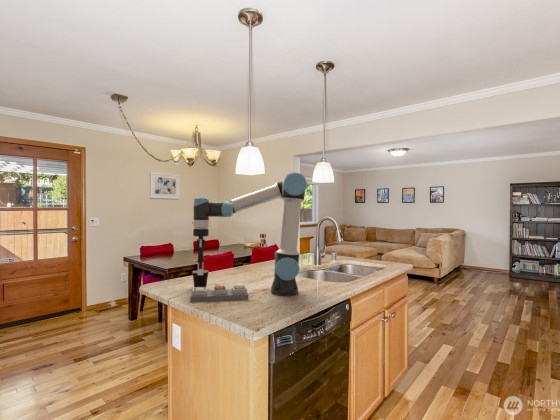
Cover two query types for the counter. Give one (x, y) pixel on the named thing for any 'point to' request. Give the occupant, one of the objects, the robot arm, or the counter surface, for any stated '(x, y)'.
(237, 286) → the button cream
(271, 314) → the counter surface
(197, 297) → the button panel
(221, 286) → the button terracotta
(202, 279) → the coffee mug
